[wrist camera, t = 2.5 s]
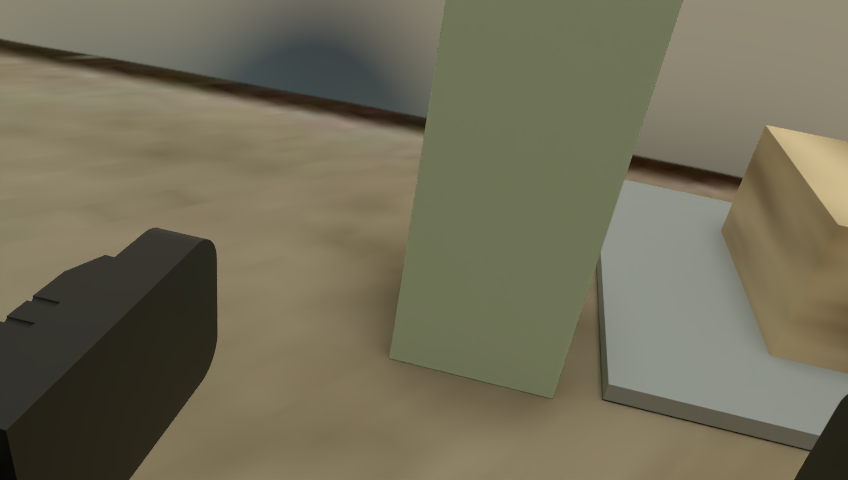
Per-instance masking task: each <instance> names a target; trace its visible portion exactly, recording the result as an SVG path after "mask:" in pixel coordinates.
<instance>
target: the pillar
mask: <svg viewBox="0 0 848 480" xmlns="http://www.w3.org/2000/svg"><path fill="white" fill-rule="evenodd" d="M682 2H683V0H446V1H445V7H444V14H443V20H442V27H441V32H440V39H439V45H438V51H437V58H436V64H435V70H434V77H433V83H432V89H431V96H430V102H429V109H428V115H427V121H426V127H425V134H424V140H423V146H422V153H421V159H420V165H419V172H418V178H417V184H416V191H415V197H414V203H413V210H412V216H411V222H410V229H409V235H408V241H407V248H406V254H405V260H404V267H403V273H402V279H401V286H400V292H399V298H398V305H397V311H396V317H395V324H394V330H393V336H392V343H391V349H390V355H389V358H390V359H394V360H398V361H402V362H406V363H410V364H414V365H418V366H422V367H426V368H430V369H434V370H438V371H442V372H446V373H450V374H454V375H458V376H462V377H466V378H471V379H475V380H479V381H483V382H487V383H491V384H495V385H499V386H503V387H507V388H511V389H515V390H519V391H523V392H527V393H531V394H535V395H539V396H543V397H547V398H551V399H553V396H554V393H555V390H556V387H557V384H558V381H559V378H560V375H561V372H562V369H563V366H564V363H565V360H566V357H567V353H568V350H569V347H570V344H571V341H572V338H573V335H574V332H575V329H576V326H577V323H578V320H579V317H580V314H581V311H582V308H583V305H584V302H585V298H586V295H587V292H588V289H589V286H590V283H591V280H592V277H593V274H594V271H595V268H596V265H597V262H598V259H599V256H600V253H601V250H602V246H603V243H604V240H605V237H606V234H607V231H608V228H609V225H610V222H611V219H612V216H613V213H614V210H615V207H616V204H617V201H618V198H619V194H620V191H621V188H622V185H623V182H624V179H625V176H626V173H627V170H628V167H629V164H630V161H631V158H632V155H633V152H634V149H635V145H636V142H637V139H638V136H639V133H640V130H641V127H642V124H643V121H644V118H645V115H646V112H647V109H648V106H649V103H650V100H651V96H652V94H653V91H654V87H655V84H656V81H657V78H658V75H659V72H660V69H661V66H662V63H663V60H664V57H665V54H666V51H667V48H668V45H669V42H670V39H671V35H672V32H673V29H674V26H675V23H676V20H677V17H678V14H679V11H680V8H681V5H682Z"/></svg>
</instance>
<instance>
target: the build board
mask: <svg viewBox="0 0 848 480" xmlns="http://www.w3.org/2000/svg"><path fill="white" fill-rule="evenodd" d="M731 206H732V203H731V202H726V201H721V200H717V199H712V198H707V197H703V196H698V195H693V194H689V193H684V192H680V191H675V190H670V189H666V188H661V187H656V186H652V185H647V184H642V183H638V182H633V181H628V180H624V182H623V185H622V188H621V191H620V194H619V198H618V201H617V204H616V207H615V210H614V213H613V216H612V219H611V222H610V225H609V228H608V231H607V234H606V237H605V240H604V243H603V246H602V250H601V253H600V256H599V259H598V262H597V283H598V304H599V325H600V346H601V367H602V387H603V399H605V400H609V401H613V402H617V403H621V404H625V405H629V406H633V407H637V408H641V409H645V410H649V411H653V412H657V413H661V414H666V415H670V416H674V417H678V418H682V419H686V420H690V421H694V422H698V423H702V424H706V425H710V426H714V427H718V428H722V429H726V430H730V431H734V432H739V433H743V434H747V435H751V436H755V437H759V438H763V439H767V440H771V441H775V442H779V443H783V444H787V445H791V446H795V447H799V448H803V449H807V450H812V448H813V447H814V445H815V443H816V441H817V440H818V438H819V436H820V435H821V433H822V431H823V430H824V428H825V426H826V424H827V423H828V421H829V419H830V418H831V416H832V414H833V413H834V411H835V409H836V407H837V406H838V404H839V403H840V401H841V400H842V399H843V398H844V397H845V396H846V395H847V394H848V374H847V373H843V372H838V371H834V370H830V369H826V368H821V367H817V366H813V365H809V364H804V363H800V362H796V361H792V360H787V359H783V358H779V357H774V356H770V354H769V351H768V349H767V346H766V344H765V341H764V339H763V336H762V334H761V331H760V328H759V326H758V323H757V321H756V318H755V316H754V313H753V311H752V308H751V306H750V303H749V301H748V298H747V295H746V293H745V290H744V288H743V285H742V283H741V280H740V278H739V275H738V273H737V270H736V267H735V265H734V262H733V260H732V257H731V255H730V252H729V250H728V247H727V245H726V242H725V240H724V237H723V234H722V232H721V229H722V227H723V225H724V222H725V220H726V217H727V215H728V213H729V210H730V208H731Z"/></svg>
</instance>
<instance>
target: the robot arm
mask: <svg viewBox="0 0 848 480" xmlns="http://www.w3.org/2000/svg"><path fill="white" fill-rule="evenodd" d="M216 343H217V256H216V249H215V246H214V244H213V242H211V241H210V240H207V239H203V238H199V237H194V236H190V235H186V234H181V233H177V232H173V231H168V230H164V229H160V228H152V229H149V230H148V231H146V232H145V233H143V234H142V235H141V236H140V237H139V238H137V239H136V240H135V241H134V242H133V243H131V244H130V245H129V246H128V247H127V248H125V249H124V250H123V251H122V252H120V253H119V254H118V255H117V256H116V257H111V256H107V255H104V256H102V257H99V258H97V259H94V260H92V261H89V262H87V263H84V264H82V265H79V266H77V267H75V268H72V269H70V270H67V271H65V272H63V273H62V274H61V275H59V276H58V277H57V278H55V279H54V280H53V281H52V282H50V283H49V284H48V285H46V286H45V287H44V288H42V289H41V290H40V291H39V292H37V293H36V294H35V295H33V299H32V301H26V302H24V303H23V304H22V305H20V306H19V307H18V308H17V309H15V310H14V311H13V312H11V313H10V314H9V315H8V316H7V319H6V321H5V322H0V480H129V479H130V478H131V477H132V475H133V474H134V472H135V471H136V470H137V468H138V467H139V466H140V464H141V463H142V462H143V460H144V459H145V458H146V456H147V455H148V454H149V452H150V451H151V450H152V448H153V447H154V445H155V444H156V443H157V441H158V440H159V439H160V437H161V436H162V435H163V433H164V432H165V431H166V429H167V428H168V427H169V425H170V424H171V422H172V421H173V420H174V418H175V417H176V416H177V414H178V413H179V412H180V410H181V409H182V408H183V406H184V405H185V404H186V402H187V401H188V399H189V398H190V397H191V395H192V394H193V393H194V391H195V390H196V389H197V387H198V386H199V385H200V383H201V382H202V380H203V379H204V377H205V375H206V374H207V372H208V369H209V367H210V365H211V362H212V359H213V356H214V352H215V348H216ZM794 480H848V394H847V395H846V396H845V397H844V398H843V399H842V400H841V401H840V403H839V404H838V406H837V407H836V409H835V411H834V413H833V414H832V416H831V418H830V419H829V421H828V423H827V424H826V426H825V428H824V430H823V431H822V433H821V435H820V436H819V438H818V440H817V441H816V443H815V445H814V447H813V448H812V450H811V452H810V453H809V455H808V457H807V458H806V460H805V462H804V464H803V465H802V467H801V469H800V470H799V472H798V474H797V476H796V477H795V479H794Z"/></svg>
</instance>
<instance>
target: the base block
mask: <svg viewBox="0 0 848 480" xmlns="http://www.w3.org/2000/svg"><path fill="white" fill-rule="evenodd" d="M721 232H722V234H723V237H724V240H725V242H726V245H727V247H728V250H729V252H730V255H731V257H732V260H733V262H734V265H735V267H736V270H737V273H738V275H739V278H740V280H741V283H742V285H743V288H744V290H745V293H746V295H747V298H748V301H749V303H750V306H751V308H752V311H753V313H754V316H755V318H756V321H757V323H758V326H759V328H760V331H761V334H762V336H763V339H764V341H765V344H766V346H767V349H768V351H769V354H770V356H774V357H779V358H783V359H787V360H792V361H796V362H800V363H804V364H809V365H813V366H817V367H821V368H826V369H830V370H834V371H838V372H843V373H847V374H848V142H847V141H842V140H837V139H832V138H827V137H822V136H817V135H812V134H807V133H802V132H797V131H793V130H788V129H783V128H778V127H772V126H768V125H766V126H765V128H764V130H763V132H762V135H761V137H760V140H759V142H758V144H757V147H756V149H755V151H754V154H753V156H752V158H751V161H750V163H749V166H748V168H747V170H746V173H745V175H744V177H743V180H742V182H741V184H740V187H739V189H738V191H737V194H736V196H735V199H734V201H733V203H732V206H731V208H730V210H729V213H728V215H727V217H726V220H725V222H724V225H723V227H722V229H721Z"/></svg>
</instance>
